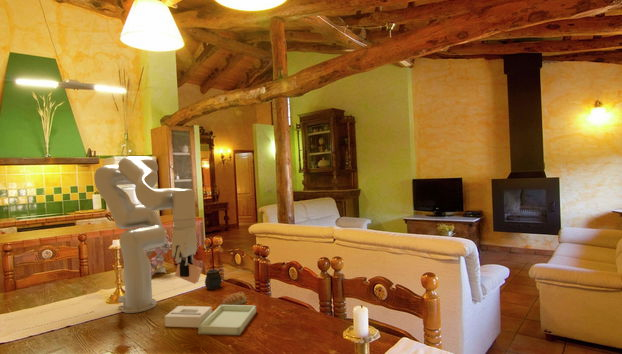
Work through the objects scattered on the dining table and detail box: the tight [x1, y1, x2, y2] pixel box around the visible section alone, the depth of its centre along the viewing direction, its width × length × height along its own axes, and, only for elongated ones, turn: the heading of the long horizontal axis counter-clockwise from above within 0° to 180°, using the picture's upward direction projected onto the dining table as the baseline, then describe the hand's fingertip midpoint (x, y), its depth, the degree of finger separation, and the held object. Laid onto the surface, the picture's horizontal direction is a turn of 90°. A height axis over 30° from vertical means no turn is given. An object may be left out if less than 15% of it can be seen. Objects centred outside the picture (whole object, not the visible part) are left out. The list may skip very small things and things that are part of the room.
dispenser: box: [164, 305, 213, 328], centre depth 123 cm, size 13×9×4 cm
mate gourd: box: [204, 268, 222, 290], centre depth 157 cm, size 7×8×10 cm
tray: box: [197, 304, 257, 336], centre depth 120 cm, size 14×18×2 cm
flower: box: [144, 228, 172, 277], centre depth 180 cm, size 20×22×25 cm
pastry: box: [221, 291, 247, 305], centre depth 138 cm, size 9×7×4 cm
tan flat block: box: [174, 262, 203, 285], centre depth 122 cm, size 5×2×8 cm
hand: (186, 274), depth 122 cm, fingers closed on tan flat block, 2 cm apart
